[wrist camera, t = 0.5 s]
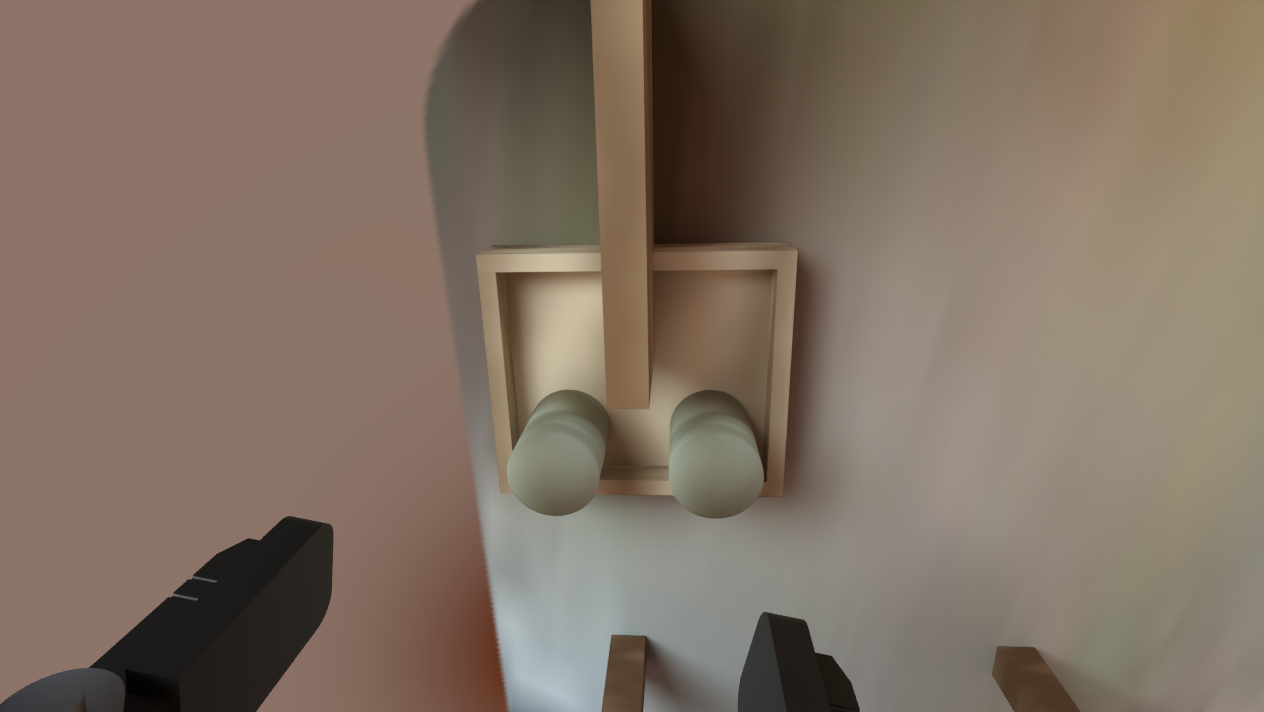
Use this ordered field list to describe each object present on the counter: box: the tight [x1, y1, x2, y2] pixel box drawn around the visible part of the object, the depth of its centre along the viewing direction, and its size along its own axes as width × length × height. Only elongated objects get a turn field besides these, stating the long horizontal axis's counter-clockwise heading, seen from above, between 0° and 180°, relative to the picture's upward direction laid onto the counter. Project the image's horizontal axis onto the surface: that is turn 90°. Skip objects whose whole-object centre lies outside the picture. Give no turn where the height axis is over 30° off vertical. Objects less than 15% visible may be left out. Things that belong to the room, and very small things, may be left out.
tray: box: [476, 0, 798, 518], centre depth 26 cm, size 14×23×8 cm, turn 1°
